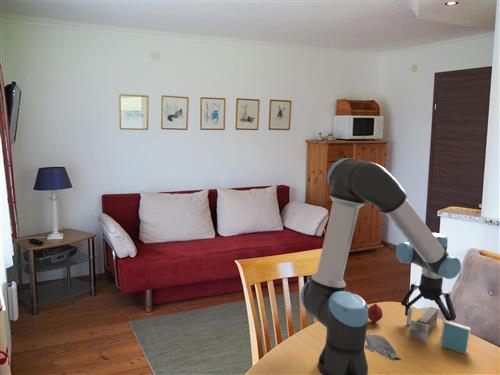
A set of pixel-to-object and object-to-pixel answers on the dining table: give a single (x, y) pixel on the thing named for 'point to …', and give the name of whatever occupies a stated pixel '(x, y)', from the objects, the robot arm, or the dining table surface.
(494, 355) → the dining table surface
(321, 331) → the dining table surface
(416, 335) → the scraper
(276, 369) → the dining table surface
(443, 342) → the tile
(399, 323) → the dining table surface
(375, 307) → the onion
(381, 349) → the stone slab
